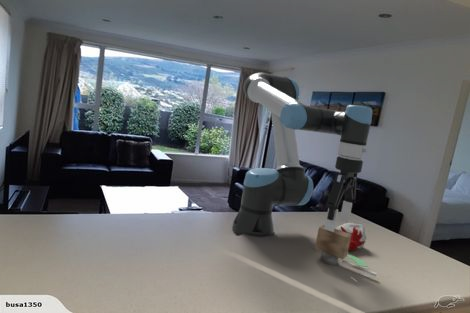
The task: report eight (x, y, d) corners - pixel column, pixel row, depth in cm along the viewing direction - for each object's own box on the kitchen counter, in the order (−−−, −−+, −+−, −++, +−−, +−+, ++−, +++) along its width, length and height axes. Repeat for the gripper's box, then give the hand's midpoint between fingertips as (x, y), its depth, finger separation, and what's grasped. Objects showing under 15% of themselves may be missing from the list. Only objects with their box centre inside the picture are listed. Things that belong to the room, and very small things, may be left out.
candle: (360, 242, 129) (366, 263, 114) (330, 235, 131) (332, 255, 116) (366, 221, 126) (373, 240, 112) (335, 214, 128) (338, 232, 114)
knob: (312, 257, 106) (318, 227, 105) (318, 253, 110) (324, 224, 109) (372, 282, 96) (380, 249, 94) (377, 276, 100) (384, 244, 98)
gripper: (349, 162, 88) (335, 238, 91) (373, 158, 109) (360, 221, 112) (322, 156, 93) (309, 230, 96) (350, 154, 113) (338, 214, 116)
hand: (337, 225), depth 104 cm, fingers open, 13 cm apart
